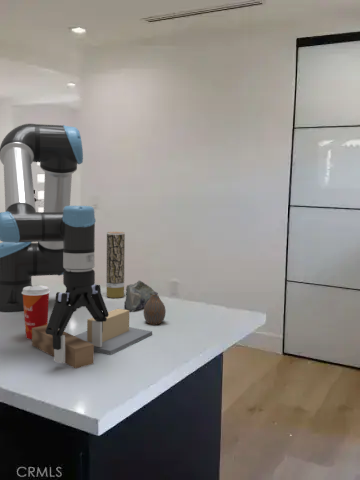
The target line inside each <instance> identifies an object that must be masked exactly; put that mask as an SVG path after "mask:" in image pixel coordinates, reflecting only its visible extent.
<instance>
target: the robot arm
mask: <svg viewBox="0 0 360 480" xmlns="http://www.w3.org/2000/svg"><path fill="white" fill-rule="evenodd" d="M83 153H84V151H83V142H82V136H81V134H80V131H79V129H78V128H77V127H75V126H71V125H70V126H69V125H64V124H63V125H59V124H41V123H40V124H39V123H38V124H37V123H25V124H20V125H18V126H16V127H14V128H13V129H12V130H10V131H9V132H8V133H7V134H6V135H5V136H4V138H3V139H2V141H1V143H0V162H1V164H2V165H3V183H4V208H5V211H4V212H3V211H2V212H0V312H21V311H24V304H23V294H22V291H23V288H24V287H27V286H33V285H32V277H38V276H39V277H40V276H42V277H43V276H58V277H59V276H63V277H62V278H63V279H62V280H63V281H62V282H63V286H64V287H65V288H66V289H65V292H59V291H57V292H56V294H55V300H54V301H55V302H54V305H53V307H52V311H51V314H50V316H49V318H48V323H47V328H46V334H50V335H52V336H53V349H54V357H53V359H54V360H53V361H54V362H56V363H59V364H66V363H65V335H62V334H63V332H65V330H66V328H67V327H68V323H69V322H70V320H71V318H72V316H73V315H74V313H75V312H76V311H77V310H78V309H81V308H82V307H84V308H85V309H86V310H87V311H88V313H89V314H90V315H91V318H94V320H96V321H92V344H93V345H94V346H96V347H102V332H103V321H104V322H105V321H106V320H107V318H106V317H108V315H109V314H108V312H109V310H108V309H107V306H106V303H105V301H104V298H103V295H102V291H101V285H100V284H95V283H96V281H95V280H96V275H95V274H96V273H95V270H94V268H95V245H96V244H95V241H96V238H95V234H96V233H95V230H96V229H95V228H96V226H95V225H96V224H95V223H96V218H95V208H94V207H93V206H90V205H71V195H72V194H71V193H72V192H71V191H72V175H73V174H74V173H75V172H76V171H78V165H81V164H83V161H84V154H83ZM33 163H39V168H40V169H41V170H42V171H43V172H44V186H43V189H44V190H43V192H44V193H43V211H41V212H40V211H39V212H38V211H37V209H36V201H35V191H34V181H33V171H32V164H33ZM58 329H59V331H58Z"/></svg>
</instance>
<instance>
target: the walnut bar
mask: <svg viewBox="0 0 360 480" xmlns="http://www.w3.org/2000/svg"><path fill="white" fill-rule="evenodd" d="M47 325H48V324H47ZM47 325H45V326H40V327H34V328H32V339H31V345H32V346H33V347H35V348H36V349H38V350H40V351H42V352H44V353H46V354H48V355H50V356H52V357H53V358H54V349H53V336H52V335H50V334H46V328H47ZM58 331H59V329H58ZM62 335H65V363H64V364H66V365H68V366H69V367H71V368H74V369H79V368H82V367H86V366H87V367H88V366H89V365H93V364H94V359H95V358H94V357H95V355H94V354H95V353H94V352H95V351H94V345H93V344H91V343H89V342H86V341H84V340H82V339H80V338H77V337H75V335H72V334H71V333H69V332H67V331H64V332H63V334H62Z"/></svg>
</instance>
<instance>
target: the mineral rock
mask: <svg viewBox="0 0 360 480" xmlns="http://www.w3.org/2000/svg"><path fill="white" fill-rule="evenodd" d="M158 294H159V293H158V292H157V291H155V290H154V289H153V288H152V286H149V285H148V284H146V283H145V282H144V281H141V280H138V281H137V282H135V283H133V284H128V285H126V287H125V301H124V307H123V308H124V310H129V312H130V311H131V312H132V311H133V312H135V311H137V310H141V309H144V307H145V304H146V303H147V301H148V300H149V299H150V297H151V295H158ZM158 296H159V295H158Z"/></svg>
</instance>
